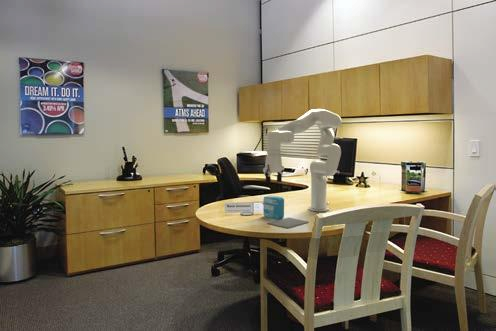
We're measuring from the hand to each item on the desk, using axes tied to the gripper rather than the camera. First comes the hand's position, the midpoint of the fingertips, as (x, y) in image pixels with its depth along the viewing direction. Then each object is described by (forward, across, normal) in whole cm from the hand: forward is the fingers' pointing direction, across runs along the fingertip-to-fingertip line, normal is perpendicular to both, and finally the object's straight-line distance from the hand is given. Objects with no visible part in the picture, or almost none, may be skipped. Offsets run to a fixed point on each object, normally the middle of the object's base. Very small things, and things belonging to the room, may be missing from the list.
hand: (273, 182), depth 226 cm
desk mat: (+20, +5, +15) cm, 26 cm away
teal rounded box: (+21, 0, 0) cm, 21 cm away
